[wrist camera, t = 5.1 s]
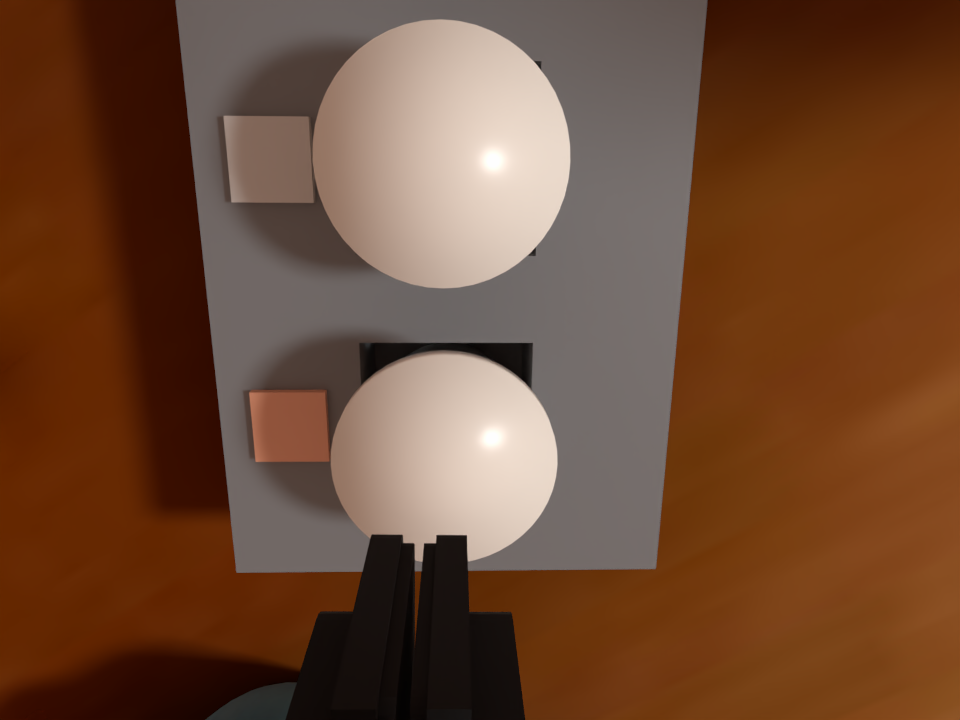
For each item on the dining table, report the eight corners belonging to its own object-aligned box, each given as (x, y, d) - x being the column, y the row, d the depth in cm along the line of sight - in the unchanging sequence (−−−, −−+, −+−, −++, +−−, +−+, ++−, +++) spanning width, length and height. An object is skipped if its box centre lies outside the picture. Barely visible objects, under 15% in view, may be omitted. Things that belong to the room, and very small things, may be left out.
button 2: (541, 316, 25) (562, 355, 20) (535, 486, 27) (553, 563, 22) (352, 315, 25) (324, 355, 20) (360, 487, 27) (336, 564, 22)
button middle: (550, 53, 23) (576, 20, 17) (543, 262, 25) (565, 289, 19) (340, 51, 22) (304, 17, 17) (350, 261, 24) (320, 288, 19)
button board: (686, -307, 22) (752, -444, 17) (625, 505, 31) (657, 573, 26) (199, -320, 22) (121, -465, 17) (272, 508, 30) (234, 577, 25)
